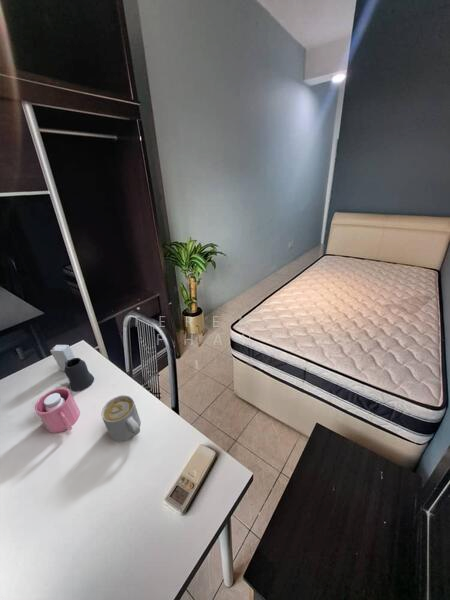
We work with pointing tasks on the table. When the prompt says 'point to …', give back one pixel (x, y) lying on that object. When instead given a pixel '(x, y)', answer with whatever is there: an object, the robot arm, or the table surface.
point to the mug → (78, 374)
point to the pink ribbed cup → (58, 412)
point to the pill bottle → (53, 401)
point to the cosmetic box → (62, 355)
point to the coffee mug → (121, 418)
